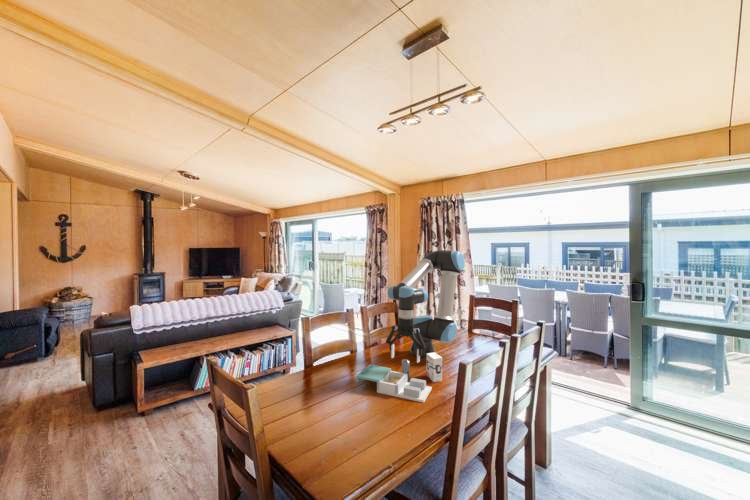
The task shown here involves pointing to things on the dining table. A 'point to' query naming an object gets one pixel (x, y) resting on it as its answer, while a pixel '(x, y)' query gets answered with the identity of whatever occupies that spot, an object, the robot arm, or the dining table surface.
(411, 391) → the housing
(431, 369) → the ink box
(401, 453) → the dining table surface
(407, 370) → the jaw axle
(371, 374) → the lid
